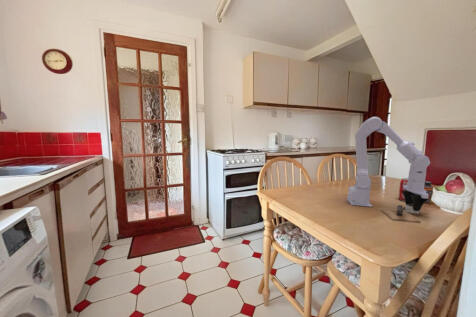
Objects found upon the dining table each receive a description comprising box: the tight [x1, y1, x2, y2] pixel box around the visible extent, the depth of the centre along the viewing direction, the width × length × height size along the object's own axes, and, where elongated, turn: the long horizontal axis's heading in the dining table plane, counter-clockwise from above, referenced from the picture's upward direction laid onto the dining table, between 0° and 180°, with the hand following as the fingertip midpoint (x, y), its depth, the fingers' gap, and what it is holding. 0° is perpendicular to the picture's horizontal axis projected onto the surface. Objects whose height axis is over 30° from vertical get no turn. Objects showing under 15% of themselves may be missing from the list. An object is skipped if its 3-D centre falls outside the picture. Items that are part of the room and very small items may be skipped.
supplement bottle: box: [424, 180, 434, 205], centre depth 103 cm, size 6×6×11 cm
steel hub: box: [404, 203, 421, 215], centre depth 90 cm, size 5×5×3 cm
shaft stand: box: [380, 204, 421, 224], centre depth 84 cm, size 10×10×5 cm
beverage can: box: [397, 177, 408, 202], centre depth 104 cm, size 6×6×12 cm
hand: (412, 208), depth 90 cm, fingers closed on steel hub, 5 cm apart
